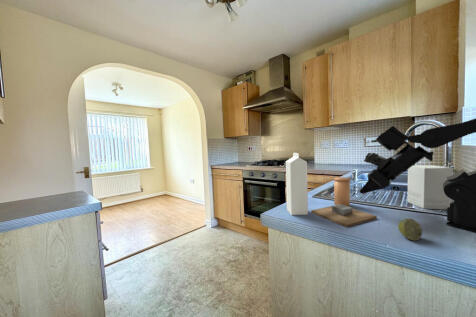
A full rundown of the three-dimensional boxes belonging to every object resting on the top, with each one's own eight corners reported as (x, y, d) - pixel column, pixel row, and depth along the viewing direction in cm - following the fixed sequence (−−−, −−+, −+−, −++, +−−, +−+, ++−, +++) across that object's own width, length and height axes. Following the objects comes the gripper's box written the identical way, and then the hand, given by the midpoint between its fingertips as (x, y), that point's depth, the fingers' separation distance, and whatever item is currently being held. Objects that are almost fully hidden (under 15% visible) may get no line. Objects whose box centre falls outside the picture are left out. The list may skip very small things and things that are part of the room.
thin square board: (376, 218, 61) (376, 209, 61) (346, 227, 56) (346, 217, 55) (338, 206, 74) (338, 199, 74) (311, 212, 68) (311, 204, 68)
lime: (421, 237, 48) (422, 218, 48) (421, 244, 45) (421, 224, 45) (399, 232, 51) (399, 214, 51) (396, 238, 48) (397, 219, 48)
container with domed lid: (353, 206, 73) (353, 179, 72) (338, 207, 73) (338, 179, 72) (345, 202, 79) (345, 176, 78) (331, 202, 79) (331, 177, 78)
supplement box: (453, 210, 66) (455, 167, 65) (423, 209, 68) (424, 168, 67) (432, 202, 75) (433, 164, 74) (406, 201, 76) (407, 165, 75)
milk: (291, 215, 67) (289, 153, 65) (286, 209, 73) (285, 152, 71) (308, 214, 67) (307, 152, 65) (302, 208, 73) (300, 152, 71)
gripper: (384, 144, 72) (352, 171, 80) (375, 145, 59) (338, 177, 67) (413, 164, 67) (375, 191, 75) (409, 171, 54) (364, 202, 62)
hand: (363, 190), depth 70 cm, fingers open, 9 cm apart
